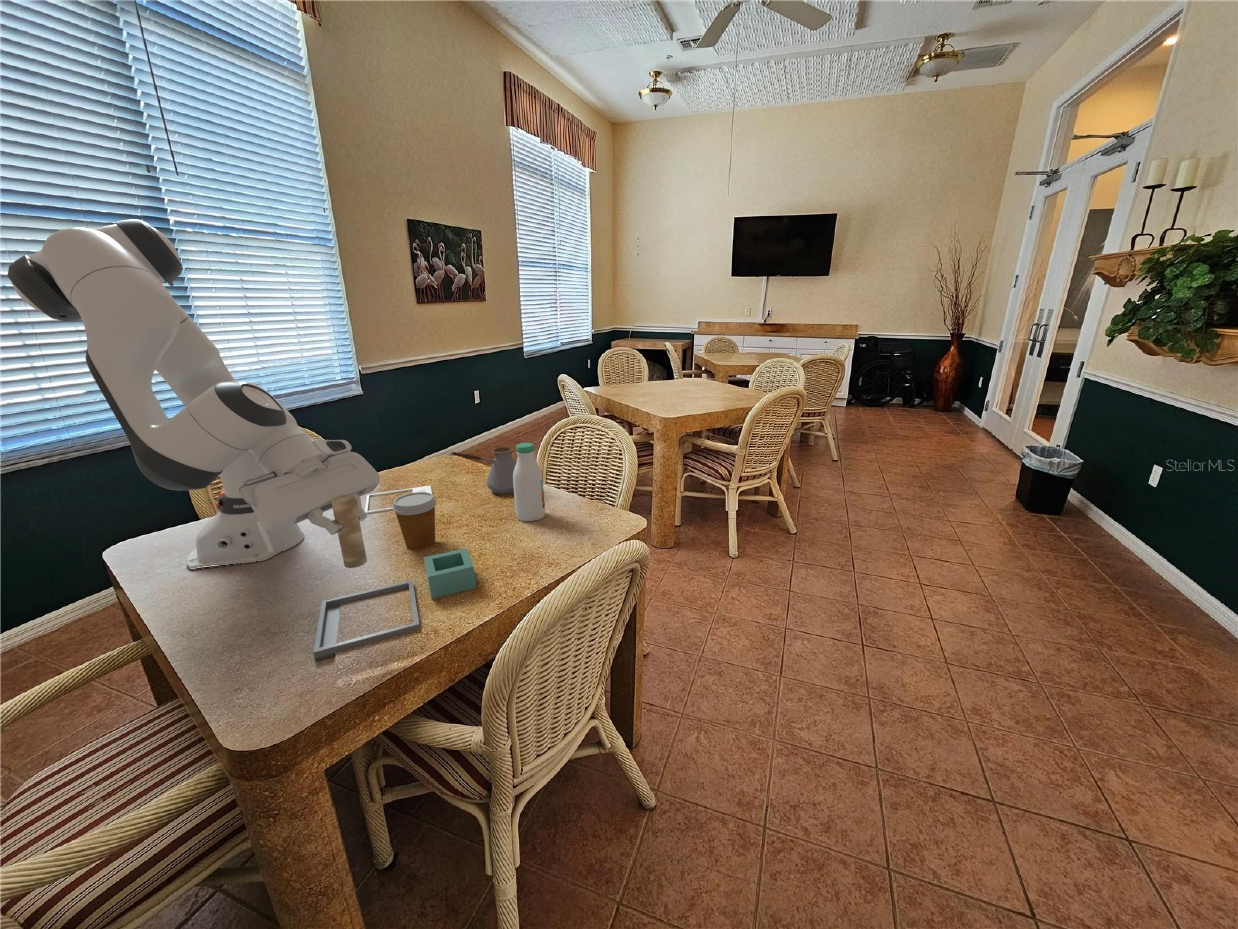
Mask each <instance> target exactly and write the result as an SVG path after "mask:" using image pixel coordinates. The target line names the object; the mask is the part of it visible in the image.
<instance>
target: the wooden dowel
mask: <svg viewBox="0 0 1238 929" xmlns="http://www.w3.org/2000/svg"><path fill="white" fill-rule="evenodd" d="M331 503H332V511H333V517H334V520H335V519H337V520H338V521H339V523H340V524H342V526H343V528H342V529H341V531H340V532H338V533H337V535H338V536H337V537H338V540H339V546H340V551H341V555H342V560H343V565H344V566H343V567H345V568H347V569H354V568H355V569H356V568H358V567H362V566H363V565H365V564H366V563H367V562H368V558H367V553H366V548H365V542H364V538H363V532H362V527H361V522H360V521H359V516H358V510H357V505H356V500H355V496H353V495H343V496H338V497H335V498H333V499H332V500H331Z"/></svg>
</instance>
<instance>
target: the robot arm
mask: <svg viewBox="0 0 1238 929" xmlns="http://www.w3.org/2000/svg"><path fill="white" fill-rule="evenodd" d="M182 267H183V264H182V262H181V258H180V256H179V253H178V251H177V249H176V248H175V246H174V244H173V243H172V242H171V241H170V239H169V238H168V237H166V236H165V235H164V234H163V233H162V231H161V232H160V231H159V230H158V229H156V228H155V227H153V226H151V225H150V224H149V223H148V222H147V221H143V220H141V219H137V218H136V219H135V218H131V219H124V220H117V221H115V223H114V224H110V225H105V226H100V227H96V228H92V229H91V228H87V227H78V226H76V227H68V228H67V227H66V228H63V229H60V230H57V231H55V232H53V233H51V234H50V235H49V236H48V237H47V238H46V239H45V241H44V242H43V245H42V248H41V250H38V251H36V252H35V253H32V254H31V255H27V254H25V255H23V256H21V257H19V258H18V259H16V260H15V261H13V262H11V263H10V265H9V266H8V269H7V278H8V279H9V280H10V282H11V285H12V287H13V289H14V290H15V292H16V293H17V295H18V296H19V297H20V298H21V299H22V300H23V302H25V303H26V304H27V305H28V306H30V307H32V308H33V309H34V310H36V311H38V312H40V313H42V314H43V315H46V316H47V317H49V318H50V319H53V320H55V321H62V322H74V321H79V320H82V324H83V326H84V330H85V336H86V344H87V346H86V349H85V362H86V366H87V368H88V370H89V372H90V373H91V376H92V377H93V379H94V381H95V383H96V385H97V387H98V388H99V390H100V393H101V394H102V395H103V397H104V399H105V401H106V403H107V404H108V406H109V407H110V409H111V411H112V413H113V415H114V417H115V419H116V420H117V422H118V424H119V425H120V428H121V429H122V431H123V432H124V434H125V436H126V438H127V439H128V442H129V444H130V447H131V451H132V454H133V456H134V461H135V463H136V465H137V467H138V469H139V471H140V472H141V473H142V474H143V475H144V477H146V479H148V480H149V481H151V482H152V483H153V484H155V485H157V486H158V487H160V488H163V489H166V490H171V491H196V490H202V489H206V488H207V487H209V485H211V484H212V483H213V482H214V481H215V480H216V479H217V478H218V477H220V480H221V484H222V487H223V490H222V491H221V492H219V494H218V495H217V499H216V500H215V501H216V502H215V507H216V509H218V512H217V513H216V514H215V515H214V516H213V517H212V518H211V519H210V520H208V522H206V523H205V524H204V525H203V526H202V527H201V529H200V530H199V531H198V533H197V535H196V539H195V548H194V549H193V550H192V551H191V552H190V554H188V555H187V556H188V557H187V558H186V566H188V567H189V568H197V567H203V566H211V565H226V564H227V565H226V566H230V565H229V564H234V565H242V564H249V563H256V561H258V562H263V561H267V560H269V559H270V558H272V557H274V556H275V555H277V554H279V553H281V551H282V552H285V551H286V550H289V549H290V548H291V549H292V548H293V547H294V546H296V545H298V544H299V543H300V542H302V541H303V540H304V538H305V534H304V532H303V531H302V530H301V527H300V526H299V525H298V523H301V522H303V521H306V520H308V521H309V522H310V523H311V525H315V526H318V527H319V528H323V529H325V530H326V531H327V532H328V533H329V535H331V536H334V535H336V534H338V532H340V531H341V529H342V528H343V526H342V524H340V523H339V521H338V520H337V519H335V518H334V519H330V518H328V517H327V516H325V515H324V513H325V512H327V511H330V510H331V509H332V510H333V508H332V503H331V500H332V499H333V498H335V497H338V496H343V495H353V496H355V500H356V505H357V510H358V516H359V521H360V523H361V522H363V521H364V520H365V521H366V519H367V517H368V514H366V513H365V509H363V506H362V500H361V497H363V496H365V495H368V494H371V492H374V490H376V488H377V487H378V485H379V484H380V482H381V480H380V479H381V477H380V474H379V473H378V471H376V469H375V468H374V467H373V466H372V465H371V464H370V463H369V462H368V461H367V460H366V459H365V458H364V457H363V456H362V455H361V454H359V453H357V452H354V451H351V450H352V445H351V444H350V443H349V441H347V440H344V439H336V440H335V439H332V440H331V439H319V438H314V439H313V438H312V437H311V435H310V434H308V433H307V432H305V431H304V430H302V429H301V428H300V426H299V425H298V423H297V420H296V419H295V417H294V416H293V415H292V414H291V413H290V412H289V410H287V408H285V407H284V405H283V404H282V403H281V402H280V401H279V400H278V399H276V398H275V397H274V396H273V395H272V394H270V392H268V391H267V390H265V389H264V388H263V387H262V386H261V385H258V384H257V383H253V382H249V381H238V380H236V379H235V377H233V375H232V373H231V372H230V371H229V370H230V369H228V367H227V365H226V364H225V362H224V361H223V358H222V356H221V354H220V353H221V352H220V351H219V349H218V348H217V346H216V345H215V344H214V343H213V342H212V341H211V340H210V338H209V337H208V336H207V335H206V334H205V333H204V331H203V330H202V329H201V328H200V327H199V326H198V324H197V323H196V322H195V321H194V319H192V318H191V317H190V315H189V314H188V313H187V312H186V311H185V310H184V309H183V308H182V306H181V305H180V304H179V303H177V301H176V300H175V298H174V297H173V295H172V294H171V293H170V291H169V290H168V289H167V288H166V287H165V285H164V284H166V283H167V284H168V286H170V287H171V288H173V286H174V285H175V283H174V281H175V280H176V279H177V278H178V277H179V276H181V272H182ZM155 371H156V372H157V373H158V375H159V376H161V378H163V380H164V381H165V382H166V384H168V387H170V389H171V390H172V391H173V394H175V395H176V396H177V398H178V399H179V400H180V401H181V403H182V404H183V405H184V408H183V409H181V410H180V411H179V412H177V413H176V414H175V415H173V416H172V417H171V418H170V419H169V417H168V415H167V414H166V412H165V410H164V409H163V407H162V406H161V404H160V402H159V399H158V398H157V397H156V395H155V392H154V391H153V385H152V380H153V376H154V374H155ZM193 561H194V562H193ZM236 563H238V564H236ZM240 563H241V564H240ZM188 567H187V568H188ZM189 568H188V569H189Z"/></svg>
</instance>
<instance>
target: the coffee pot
mask: <svg viewBox="0 0 1238 929" xmlns="http://www.w3.org/2000/svg"><path fill="white" fill-rule="evenodd" d="M513 451H514V448H513V447H509V446H499V447H496V448H493V449H491V453H492V454H493V456H494V458H493V459H492V458H486V457H480V456H477V455H473V454H470V453H462V452H460V451H459V452H456V451H451V453H450V454H449V456H451V455H452V457H449V459H450V460H452V459H453V458H454V456H457V457H459V458H460V457H462V458H465V459H470V460H476V461H477V460H478V461H483V462H488V463H492V464H491V467H490V470H489V473H488V476H487V479H486V484H485V485H486V486H487V488H488V489H489V490H490V491H493V493H494V494H497V493H498V494H497V495H510V494H509V493H511V494H514V486H513V472H514V469H515V466H516V463H517V461H516V460H515V458H514V456H513Z"/></svg>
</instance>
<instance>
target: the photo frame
mask: <svg viewBox="0 0 1238 929" xmlns="http://www.w3.org/2000/svg"><path fill="white" fill-rule="evenodd" d="M410 491H412V493H415V492H427V493H431V494H432V495H433V492H432V487H431V485H425V486H424V485H423V486H419V487H418V486H417V487H411V488H403V489H398V490H391V491H390V490H389V491H383V492H377V493H368V494H366V500H365V509H364V511H365V513H366V514H367V515H368V514H369V515H371V514H375V513H383V512H387V511H394V510H393V509H392V507H387V508H379V509H373V510H369V509H368V508H369V500H370V497H377V496H383V495H392V494H396V493H404V492H410Z"/></svg>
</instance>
